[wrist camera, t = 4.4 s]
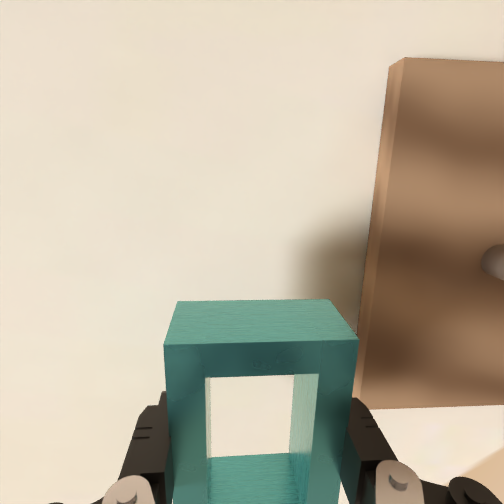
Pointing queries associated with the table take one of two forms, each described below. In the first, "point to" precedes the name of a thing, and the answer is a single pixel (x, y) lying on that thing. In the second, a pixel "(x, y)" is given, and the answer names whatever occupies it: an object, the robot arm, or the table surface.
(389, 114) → the plate
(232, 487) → the teal open frame
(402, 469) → the robot arm
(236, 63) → the table surface
